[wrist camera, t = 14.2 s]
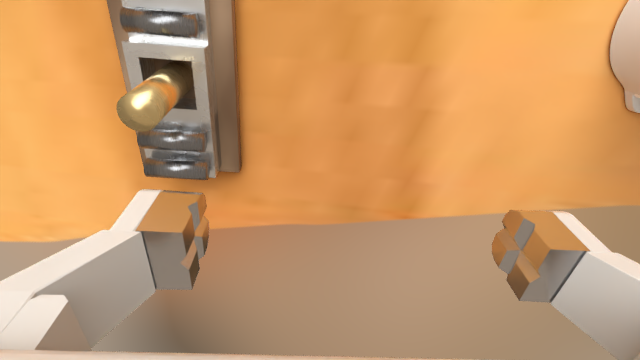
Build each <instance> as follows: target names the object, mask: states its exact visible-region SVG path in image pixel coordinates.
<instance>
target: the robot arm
mask: <svg viewBox="0 0 640 360" xmlns="http://www.w3.org/2000/svg"><path fill="white" fill-rule="evenodd" d="M610 62H611V67H612V70H613V72H614V74H615V76H616V77H617V79H618V80H619V81H620V83H621V84H622V85H623V87H624V90H625V104H626V107H627V109H628V110H630V111H633V112H636V113H640V0H629V1H628V2H627V4H626V6H625V7H624V9H623V11H622V13H621V15H620V17H619V19H618V21H617V23H616V26H615V29H614V32H613V35H612V39H611V45H610ZM206 207H207V205H206V199H205V195H204V194H203V193H194V192H180V191H166V190H164V191H162V190H149V189H143V190H140V191H138V193H137V194H136V195H135V197H134V198H133V199H132V201H131V202H130V203H129V205H128V206H127V207H126V209H125V210H124V211H123V213H122V214H121V215H120V217H119V218H118V219H117V221H116V222H115V223H114V225H113V226H112V227H111V229H110V230H102V231H100V232H98V233H96V234H94V235H92V236H90V237H88V238H86V239H84V240H82V241H80V242H78V243H76V244H74V245H72V246H70V247H68V248H66V249H64V250H62V251H60V252H58V253H56V254H54V255H52V256H50V257H48V258H46V259H44V260H42V261H40V262H38V263H36V264H34V265H32V266H30V267H28V268H26V269H24V270H23V271H20V272H18V273H16V274H14V275H12V276H10V277H8V278H6V279H4V280H2V281H1V282H0V360H482V359H440V358H438V359H437V358H391V357H346V356H299V355H251V354H250V355H249V354H202V353H155V352H108V351H91V348H92V347H94V346H95V345H96V344H97V343H98V342H99V341H100V340H102V339H103V338H104V337H105V336H106V335H107V334H108V333H109V332H111V331H112V330H113V329H114V328H115V327H116V326H117V325H118V324H120V323H121V322H122V321H123V320H124V319H125V318H126V317H127V316H129V315H130V314H131V313H132V312H133V311H134V310H135V309H136V308H137V307H139V306H140V305H141V304H142V303H143V302H144V301H146V300H147V299H148V298H149V297H150V296H151V295H152V294H153V293H155V291H156V289H177V290H180V289H182V290H192V289H193V286H194V283H195V280H196V277H197V275H198V271H199V269H200V267H199V259H200V258H202V257H203V256H204V255H205V252H206V249H207V245H208V238H209V222H208V219H207V218H206V217H205V216H204V212H205V210H206ZM502 223H503V226H504V229H502V230H501V231H500V232H498V233H497V234H496V236H495V238H494V240H493V243H492V254H493V258H494V261H495V262H496V264H497V266H498V267H499V268H500V269H501V270H503V271H504V272H506V273H507V274H508V276H507V282H508V284H509V285H510V287H511V288H512V290H513V291H514V293H515V295H516V296H517V298H518V299H519V301H533V302H549V303H551V305H552V306H553V307H555V308H556V309H557V310H558V311H560V312H561V313H562V314H563V315H564V316H566V317H567V318H568V319H569V320H570V321H572V322H573V323H574V324H575V325H577V326H578V327H579V328H580V329H581V330H582V331H584V332H585V333H586V334H587V335H588V336H590V337H591V338H592V339H593V340H595V341H596V342H597V343H598V344H599V345H601V346H602V347H603V348H604V349H605V350H607V351H608V352H609V353H610V354H611V355H613V356H614V357H615V358H616V359H618V360H640V264H638V263H637V262H635V261H633V260H630V259H628V258H627V257H624V256H623V255H621V254H619V253H612V252H611V251H610V250H609V249H608V248H607V247H606V246H605V245H603V244H602V243H601V242H600V241H599V240H598V239H597V238H596V237H595V236H594V235H593V234H592V233H591V232H590V231H589V230H588V229H587V228H586V227H584V225H582V224H581V223H580V222H579V221H578V220H577V219H576V218H575V217H574V216H573V215H572V214H570V213H568V212H565V211H524V210H510V211H509V212H508V213H507V214H506V215H505V217H504V219H503V221H502ZM483 360H486V359H483Z"/></svg>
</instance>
